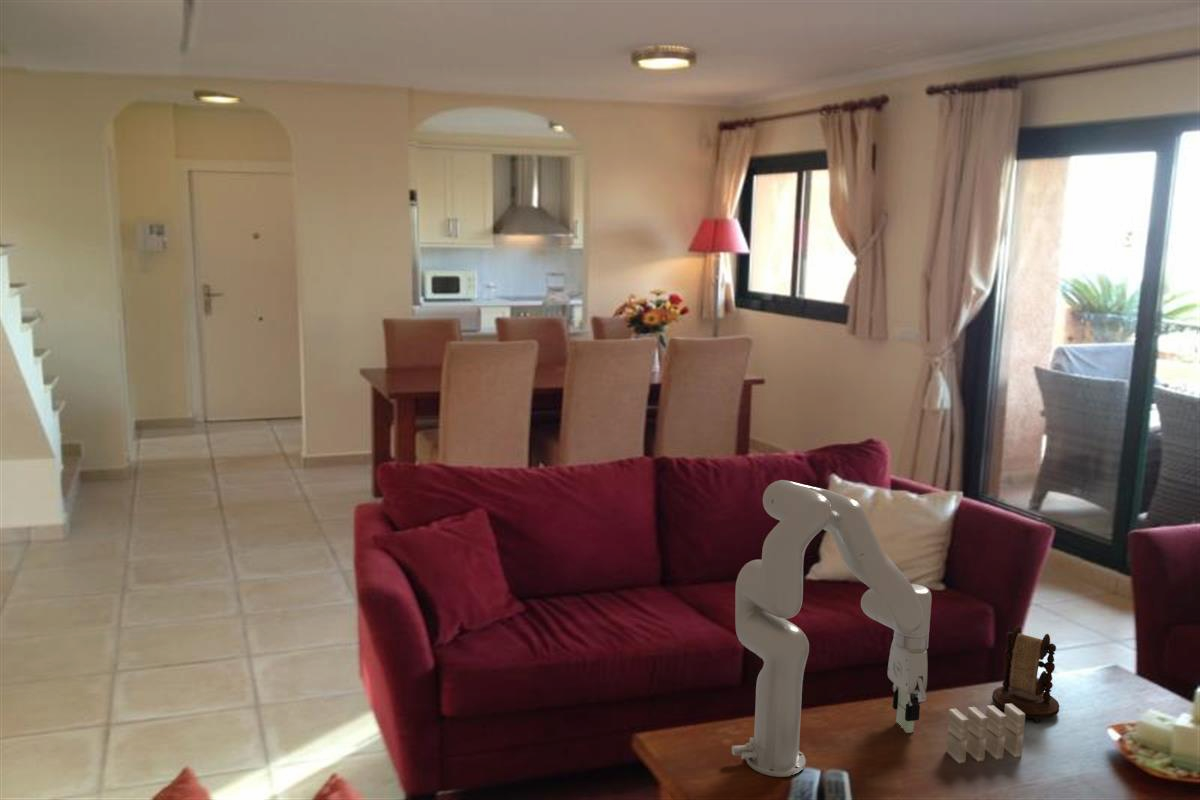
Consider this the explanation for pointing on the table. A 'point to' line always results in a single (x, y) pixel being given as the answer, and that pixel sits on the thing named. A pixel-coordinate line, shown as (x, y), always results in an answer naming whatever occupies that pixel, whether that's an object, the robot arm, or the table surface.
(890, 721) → the table surface
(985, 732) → the domino
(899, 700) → the domino
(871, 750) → the table surface
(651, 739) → the table surface
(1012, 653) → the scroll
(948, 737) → the domino
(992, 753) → the domino
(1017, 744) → the domino
